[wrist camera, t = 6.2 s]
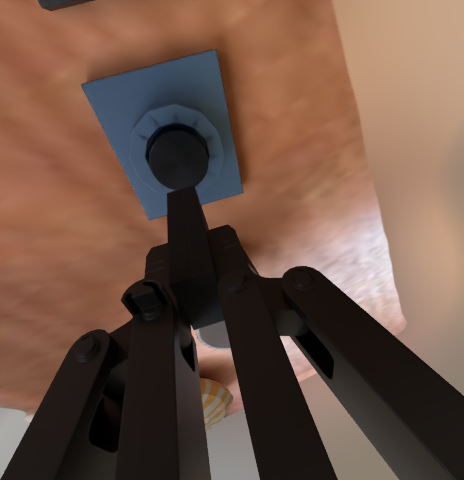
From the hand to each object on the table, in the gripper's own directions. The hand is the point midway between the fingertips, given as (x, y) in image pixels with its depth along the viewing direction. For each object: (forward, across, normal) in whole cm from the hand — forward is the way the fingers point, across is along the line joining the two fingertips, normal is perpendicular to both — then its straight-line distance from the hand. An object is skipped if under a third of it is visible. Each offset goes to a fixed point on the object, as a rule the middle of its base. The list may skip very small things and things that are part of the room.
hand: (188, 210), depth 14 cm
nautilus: (+13, -15, -48) cm, 52 cm away
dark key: (+9, 0, 0) cm, 9 cm away
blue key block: (+12, 0, 0) cm, 12 cm away
